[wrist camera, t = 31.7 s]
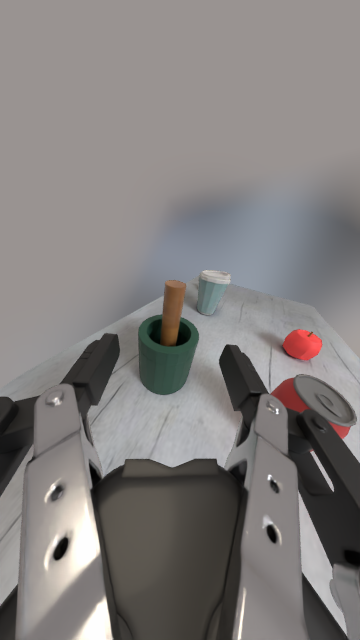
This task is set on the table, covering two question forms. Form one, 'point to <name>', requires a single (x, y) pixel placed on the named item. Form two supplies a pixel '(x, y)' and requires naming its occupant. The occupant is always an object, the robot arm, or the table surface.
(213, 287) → the disposable coffee cup
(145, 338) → the green cup
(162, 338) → the brown and grey cylinder
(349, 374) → the table surface
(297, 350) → the apple
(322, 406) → the beer can
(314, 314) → the table surface
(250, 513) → the robot arm
